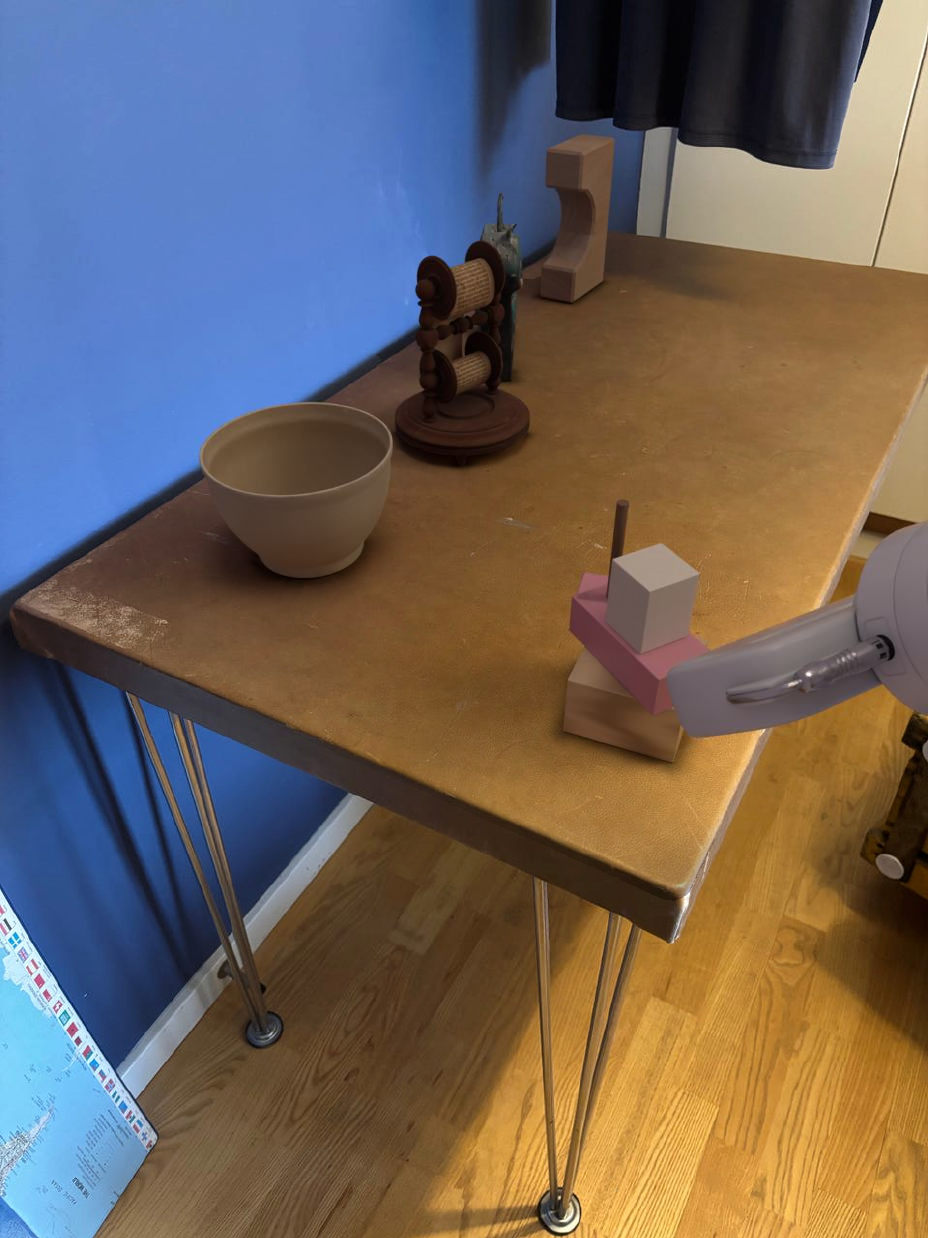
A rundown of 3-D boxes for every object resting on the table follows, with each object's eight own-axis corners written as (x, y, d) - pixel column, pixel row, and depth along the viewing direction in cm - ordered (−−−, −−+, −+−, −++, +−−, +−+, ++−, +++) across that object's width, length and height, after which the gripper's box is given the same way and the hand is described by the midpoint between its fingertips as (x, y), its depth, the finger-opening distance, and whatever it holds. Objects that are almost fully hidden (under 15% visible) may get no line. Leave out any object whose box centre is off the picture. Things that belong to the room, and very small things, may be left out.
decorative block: (572, 304, 132) (582, 152, 120) (537, 297, 134) (544, 148, 122) (604, 282, 139) (617, 137, 127) (571, 276, 142) (580, 132, 129)
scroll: (463, 394, 109) (461, 218, 97) (556, 434, 101) (567, 247, 88) (368, 435, 101) (353, 249, 89) (461, 483, 93) (458, 285, 80)
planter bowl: (187, 553, 83) (161, 446, 77) (324, 486, 92) (311, 386, 86) (295, 629, 75) (277, 516, 68) (435, 548, 84) (431, 441, 77)
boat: (710, 691, 61) (739, 557, 54) (652, 716, 60) (675, 580, 53) (607, 597, 70) (621, 470, 63) (554, 615, 68) (562, 487, 61)
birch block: (697, 689, 69) (707, 639, 66) (673, 763, 63) (683, 711, 60) (595, 662, 71) (600, 612, 68) (562, 731, 65) (567, 680, 62)
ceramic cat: (520, 387, 110) (526, 212, 98) (467, 387, 111) (466, 212, 98) (516, 325, 126) (521, 168, 113) (469, 325, 126) (469, 168, 113)
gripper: (809, 770, 35) (634, 771, 48) (1138, 614, 43) (909, 652, 56) (752, 617, 36) (593, 659, 49) (1088, 488, 43) (872, 555, 56)
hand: (764, 654), depth 52 cm, fingers open, 8 cm apart
